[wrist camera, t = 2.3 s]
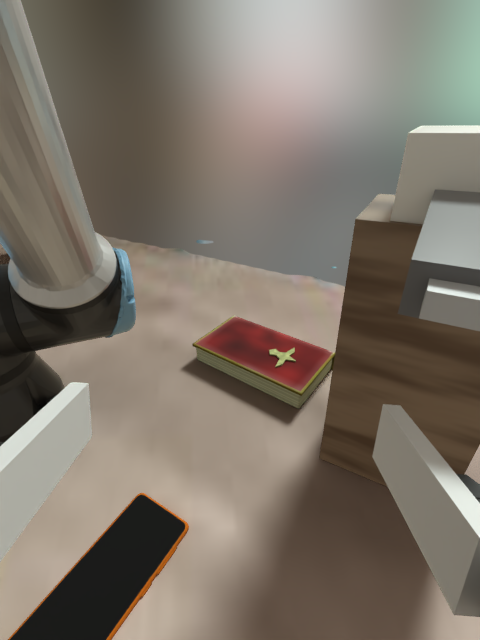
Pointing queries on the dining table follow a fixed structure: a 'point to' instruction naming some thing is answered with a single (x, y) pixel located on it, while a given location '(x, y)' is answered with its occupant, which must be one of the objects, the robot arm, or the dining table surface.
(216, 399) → the dining table surface
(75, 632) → the smartphone
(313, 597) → the dining table surface
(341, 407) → the stand
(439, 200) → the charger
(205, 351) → the hardcover book
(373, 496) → the dining table surface
